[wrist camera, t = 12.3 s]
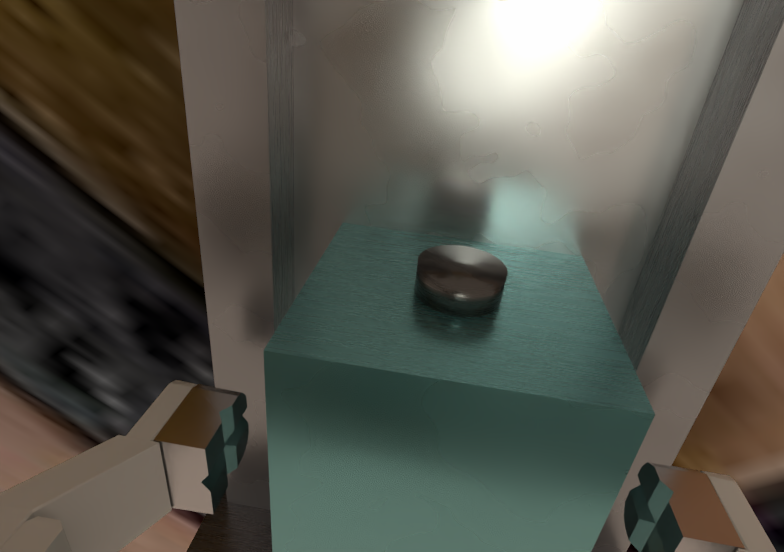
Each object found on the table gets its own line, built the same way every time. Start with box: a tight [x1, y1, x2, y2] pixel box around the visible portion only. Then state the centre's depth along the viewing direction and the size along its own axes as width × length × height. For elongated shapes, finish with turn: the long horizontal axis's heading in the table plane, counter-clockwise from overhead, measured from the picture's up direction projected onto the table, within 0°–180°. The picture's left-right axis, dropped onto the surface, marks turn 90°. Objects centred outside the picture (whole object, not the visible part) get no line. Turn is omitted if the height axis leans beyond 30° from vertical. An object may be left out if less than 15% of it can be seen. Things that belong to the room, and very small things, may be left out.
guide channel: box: [174, 0, 784, 552], centre depth 11 cm, size 12×20×6 cm, turn 175°
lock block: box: [263, 223, 655, 552], centre depth 11 cm, size 6×8×5 cm
